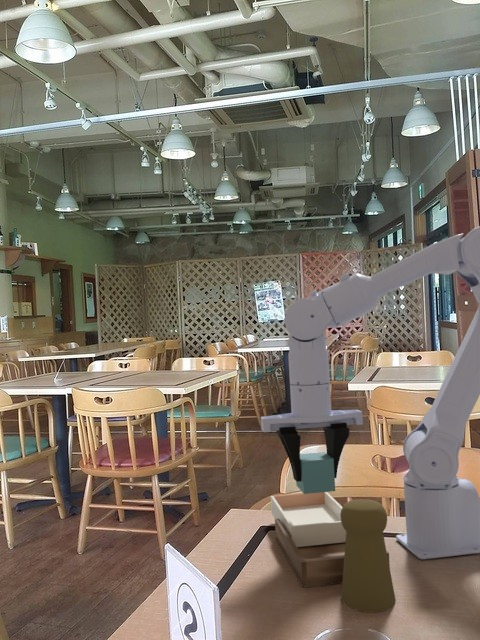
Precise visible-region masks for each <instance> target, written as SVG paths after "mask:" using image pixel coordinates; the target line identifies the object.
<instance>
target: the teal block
mask: <svg viewBox="0 0 480 640" xmlns="http://www.w3.org/2000/svg"><path fill="white" fill-rule="evenodd" d="M300 464H301V481H299V482H296V481H295V482H296V483H295V485H296V487H297V488H298V489H299V490H300V492H301V493H304V494H310V493H320V492H327V493H331V492H336V480H335V479H336V478H335V476H334V459H333V458H332V457H330V456H329V455H328V454H327V452H324V451H323V452H321V451H320V452H313V453H312V452H311V453H300Z"/></svg>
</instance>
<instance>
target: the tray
mask: <svg viewBox="0 0 480 640" xmlns="http://www.w3.org/2000/svg"><path fill="white" fill-rule="evenodd" d="M270 507H271V508H270V510H271V516H272V517H273V519H274V520H275V519H280V521H281V523H282V524H283V526H284V527H285V529H286V531H287V532H288V534H289V535H290V537H291V539H292V540H293V542H294V543H295V545H296V547H303V546H313V545H322V544H332V543H341V542H345V541H346V530H345V529H344V528H343V525H342V522H341V517H340V514H341V509H342V508H343V506H342V505H341V503H339V502H338V501H337V500H336V499H335V498H334V497H333V496H332V495H331V494H330V492H320V493H310V494H304V493H303V492H301V493H288V494H281V495H279V494H278V495H270Z"/></svg>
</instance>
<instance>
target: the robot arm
mask: <svg viewBox="0 0 480 640" xmlns="http://www.w3.org/2000/svg"><path fill="white" fill-rule="evenodd" d="M463 235H464V233H460V234H456V235H453V236H450V237H448V238H445V239H442V240H440V241H438V242H435V243H432V244H430V245H429V246H428V245H427V247H425V248H423V249H421V250H419V251H417V252H415V253H413V254H411V255H410V256H407V257H406V258H404V259H401V260H400V261H397V262H396V263H394V264H392V265H390V266H389V267H387V268H385V269H383V270H381V271H379V272H377V273H375V274H373V275H372V276H367V275H364V274H361V273H359V272H358V273H357V272H356V273H354V274H352V275H350V274H349V273H347V272H346V273H344V274H343V275H341V276H339V279H340V281H338V282H336V283H334V284H332V285H330V286H328V287H325V288H323V289H322V290H320V291H317V290H316V289H315V290H313V291H310V292H309V296H310V298H308V297H306V298H305V297H302V298H298V299H297V300H296V301H295V302H293V303H292V304H291V305H290V306H289V307H288V308H287V310H286V312H285V315H284V324H285V328H286V330H287V332H288V333H289V334H290V335H289V336H288V340H287V343H288V345H287V346H288V348H289V351H288V354H287V355H288V356H287V357H288V372H289V374H288V375H289V391H290V393H289V394H290V406H291V407H290V411H291V412H290V413H289V412H288V413H281V414H275V415H266V416H260V427H261V431H262V432H263V433H270V432H274V431H276V434H277V437H279V439H280V442H281V443H282V446H283V448H284V450H285V452H286V455H287V457H288V460H289V464H290V468H291V472H292V476H293V479H294V480H295V482H299V481H301V464H300V454H301V438H302V437H301V435H299V433H298V431H299V429H300V430H301V429H311V428H322V427H323V433H324V439H325V440H324V441H325V448H326V454H328V455H329V456H330V457H332V458H333V459H334V476H335V479H337V476H338V467H339V463H340V459H341V456H342V452H343V449H344V447H345V444H346V442H347V441H348V439H349V437H350V427H348V426H350V425H351V426H352V425H355V426H362V425H363V424H364V422H363V417H364V416H363V411H362V410H359V409H343V410H342V409H338V410H333V409H332V400H331V399H332V398H331V397H332V396H331V383H330V378H331V376H330V362H329V350H328V349H327V340H326V333H325V332H326V330H327V329H328V327H330V328H333V329H337V328H338V327H341V326H343V325H345V324H347V323H350V322H352V321H353V320H355V319H358V318H360V317H363V316H364V315H366V314H368V313H371V312H373V311H374V310H375V309H376V308H377V305H378V301H379V299H380V297H381V296H384V295H386V294H388V293H390V292H392V291H395V290H396V289H399V288H402V287H403V286H406V285H408V284H410V283H413V282H415V281H416V280H419V279H421V278H424V277H426V276H428V275H430V274H431V275H432V274H438V275H452V274H453V273H456V274H457V275H458V276H459V277H460V278H461V279H462V280H463V281H464V282H465V283H466V284H467V285H468V286H469V288H470V289H471V293H472V294H473V295H474V298H475V300H476V302H477V303H478V307H477V310H476V311H475V314H474V316H473V319H472V320H471V323H470V324H469V326H468V329H467V331H466V333H465V335H464V338H463V339H462V341H461V343H460V345H459V348H458V350H457V352H456V354H455V356H454V357H453V358H454V359H453V360H452V363H451V365H450V367H449V369H448V371H447V373H446V375H445V377H444V379H443V382H442V384H441V385H440V388H439V390H438V391H437V394H436V396H435V398H434V401H433V402H432V404H431V407H430V408H429V409H428V410H427V412H426V413H425V414H424V415H423V417H422V418H421V421H420V423H419V424H418V426H417V427H416V428H415V429H413V430H411V431H410V432H409V433H408V434H407V435H406V437H405V438H404V441H403V445H402V449H403V450H402V452H403V455H404V458H405V460H406V461H407V463H408V471H407V473H406V474H405V475H404V476H403V490H404V491H403V492H404V494H403V495H404V509H405V527H406V529H405V530H406V531H405V532H406V533H402V534H397V535H396V536H395V538H396V540H397V541H398V542H400V544H402V545H403V546H404V547H405V548H406V549H407V550H409V551H410V552H411V554H413V555H414V556H415V557H416V558H417V559H420V560H430V559H438V558H447V557H455V556H456V557H457V556H462V555H472V554H480V496H479V492H478V490H477V487H476V486H475V485H474V483H473V482H472V481H470V480H469V479H468V478H459V477H458V475H457V474H458V471H459V468H460V467H459V466H460V463H459V462H460V461H459V454H460V450H461V447H462V446H463V443H464V437H465V430H466V424H467V423H468V420H469V418H470V416H471V414H472V412H473V410H474V407H475V406H476V404H477V402H478V400H479V398H480V226H477V227H475V228H473V229H472V230H470V231H469V232H468V233H467V234H466V235H465V236H463Z"/></svg>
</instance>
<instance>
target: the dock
mask: <svg viewBox="0 0 480 640" xmlns="http://www.w3.org/2000/svg"><path fill="white" fill-rule="evenodd" d="M274 525H275V526H274V527H275V529H274V530H275V540H276V542H277V544H278V546H279V547H280V549H281V551H282V553H283V555H284V557H285V558H286V560H287V562H288V564H289V566H290V567H291V569H292V572H293V573H294V575H295V576H296V578H297V580H298V582H299V583H300V586H301V587H302V588H310V587H321V586H331V585H337V584H342V581H343V567H344V554H345V542H341V543H332V544H322V545H313V546H303V547H296V545H295V543H294V542H293V540H292V539H291V537H290V535H289V534H288V532H287V531H286V529H285V527H284V526H283V524H282V523H281V521H280V519H275V518H274ZM387 557H388V562H389V567H390V568H391V566H390V564H391V563H390V553H389V551H387Z"/></svg>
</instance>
